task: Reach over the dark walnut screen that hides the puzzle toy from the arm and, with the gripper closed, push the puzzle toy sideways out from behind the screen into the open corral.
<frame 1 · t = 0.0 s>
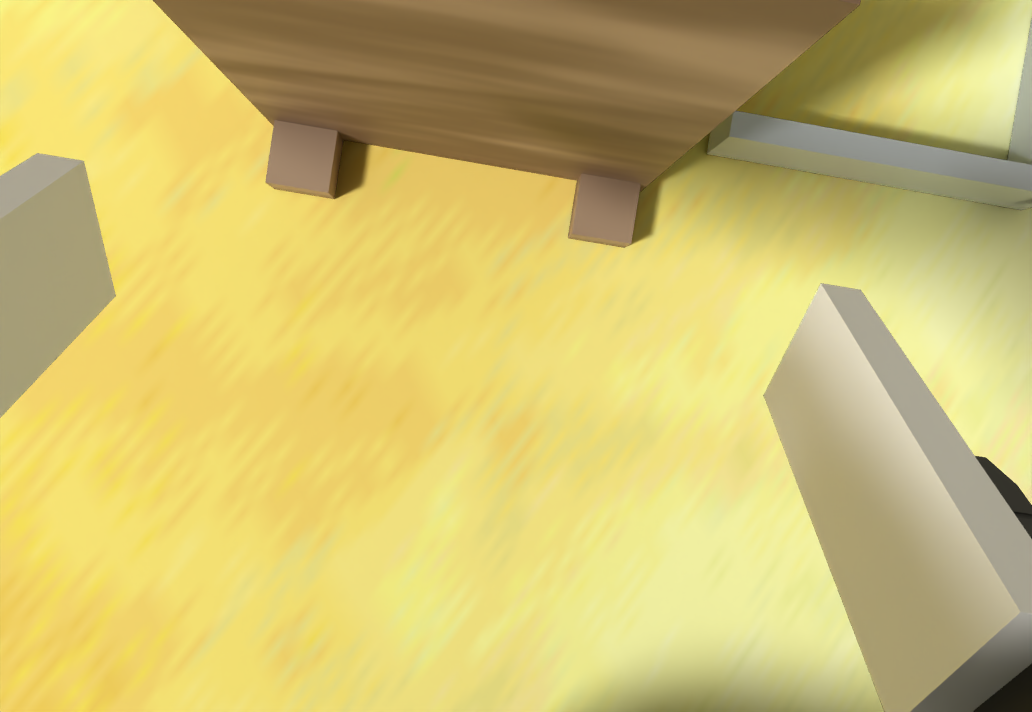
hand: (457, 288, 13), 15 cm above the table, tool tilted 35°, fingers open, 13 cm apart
screen: (463, 145, 28), on the table
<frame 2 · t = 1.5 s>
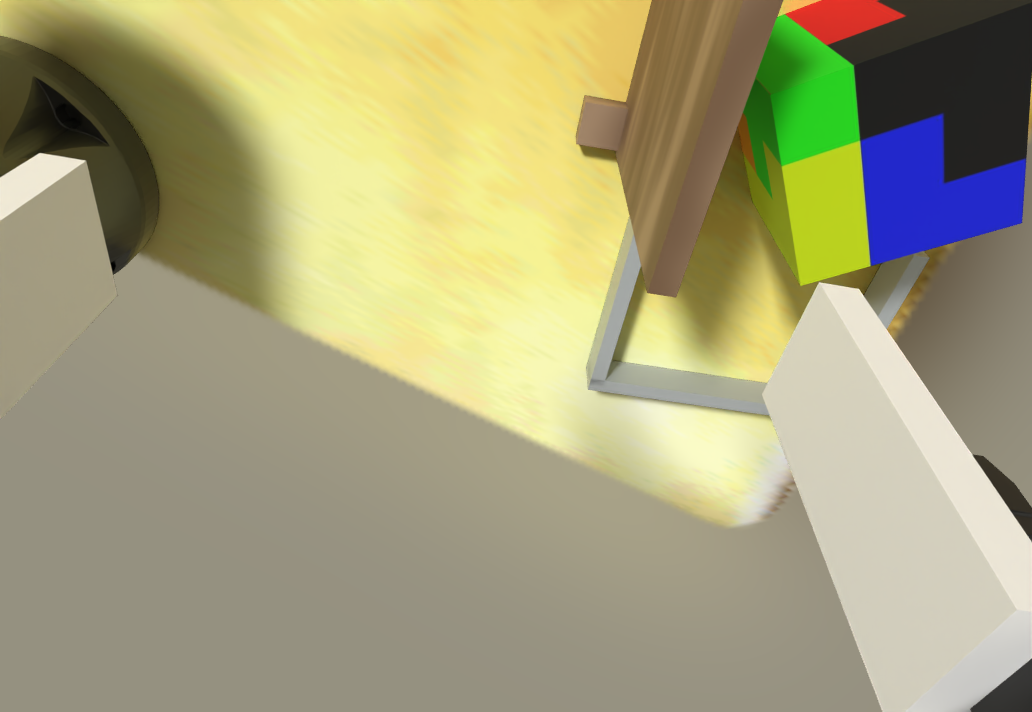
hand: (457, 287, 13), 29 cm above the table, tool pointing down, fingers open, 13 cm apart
screen: (660, 12, 36), on the table
corral: (736, 308, 47), on the table
puzzle toy: (826, 92, 38), on the table
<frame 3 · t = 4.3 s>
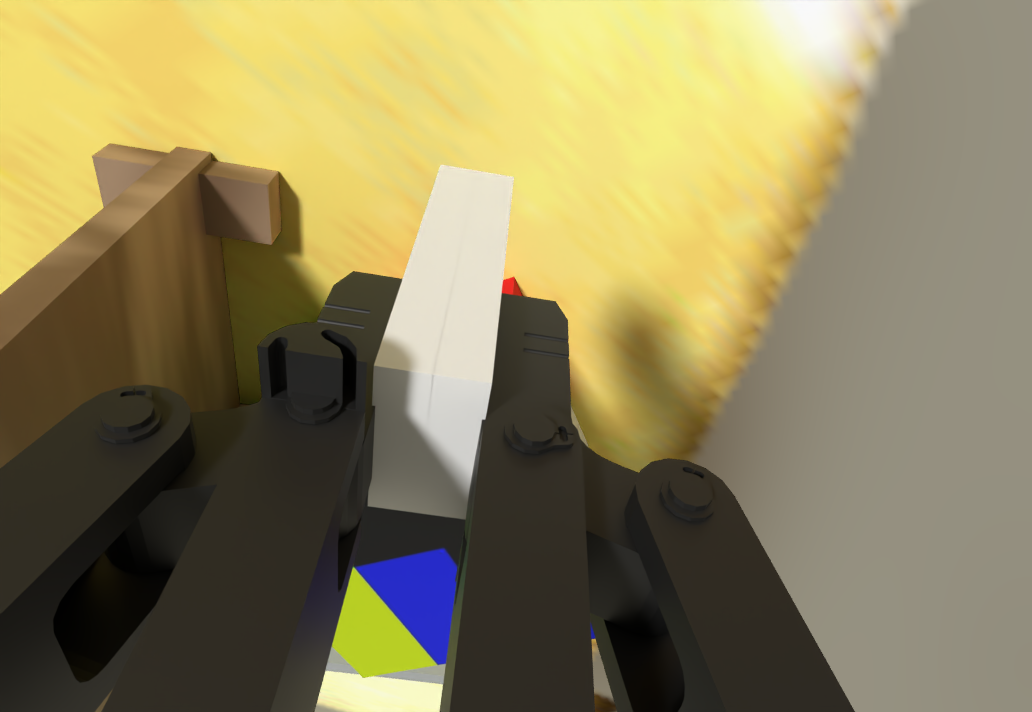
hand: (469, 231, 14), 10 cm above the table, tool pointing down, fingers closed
screen: (216, 318, 29), on the table
corral: (426, 580, 40), on the table
puzzle toy: (452, 393, 31), on the table
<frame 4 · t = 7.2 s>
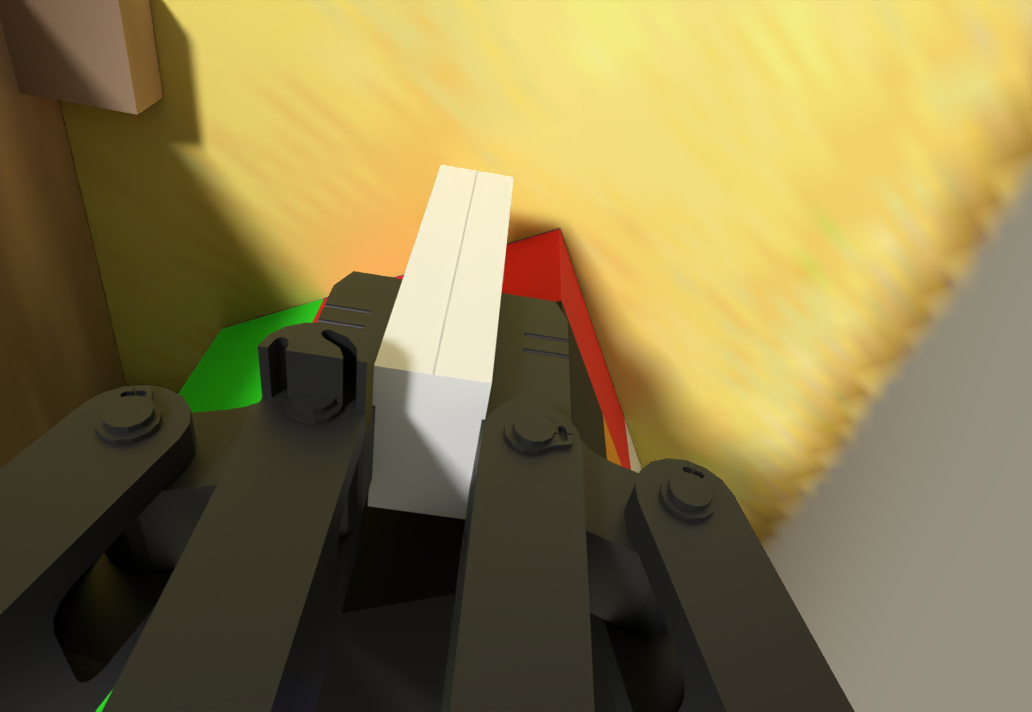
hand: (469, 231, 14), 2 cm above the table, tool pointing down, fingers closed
screen: (73, 259, 18), on the table
puzzle toy: (452, 410, 21), on the table
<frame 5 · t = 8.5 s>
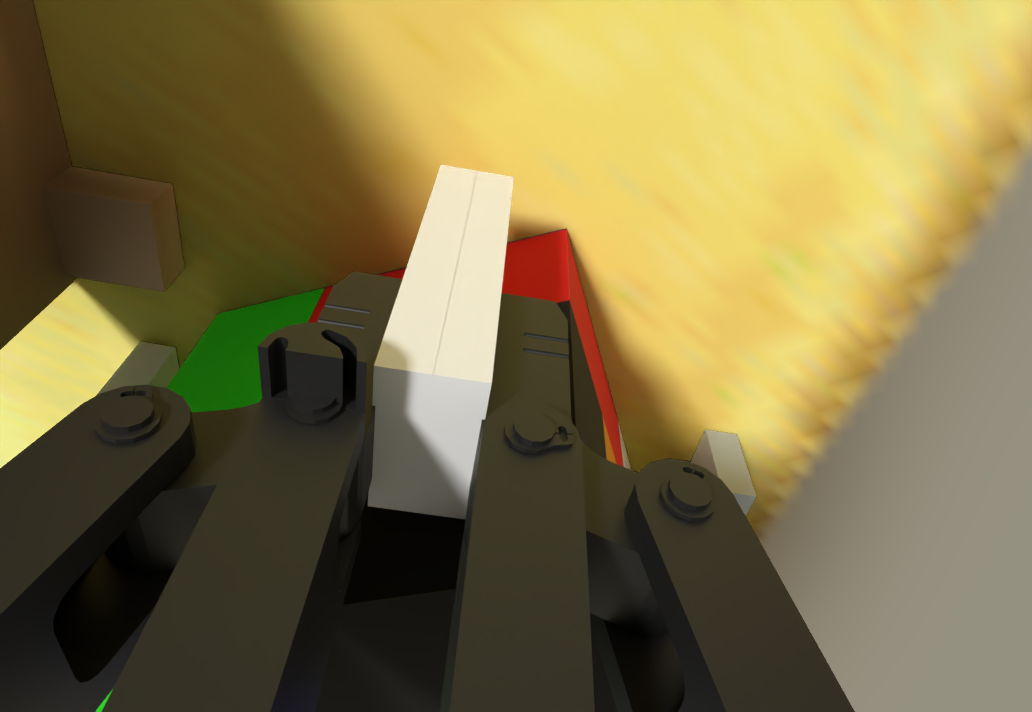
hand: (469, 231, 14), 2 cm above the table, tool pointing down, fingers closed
corral: (426, 534, 25), on the table
puzzle toy: (447, 405, 21), on the table, touching gripper
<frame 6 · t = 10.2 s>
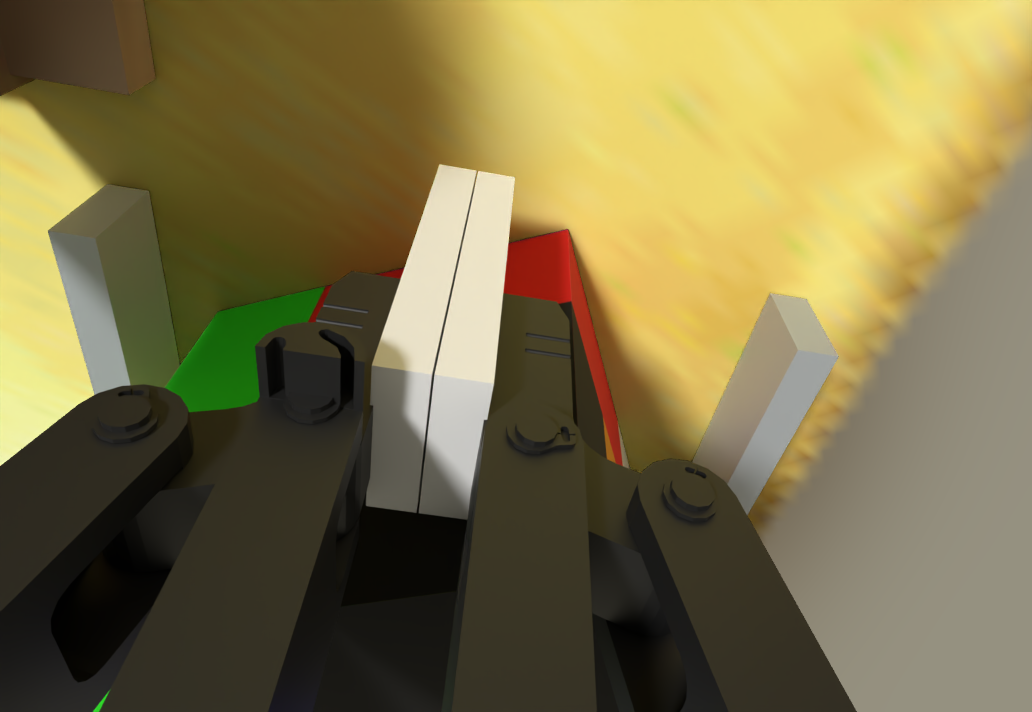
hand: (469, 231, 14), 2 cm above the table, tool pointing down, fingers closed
corral: (442, 437, 22), on the table
puzzle toy: (446, 405, 21), on the table, touching gripper, hand
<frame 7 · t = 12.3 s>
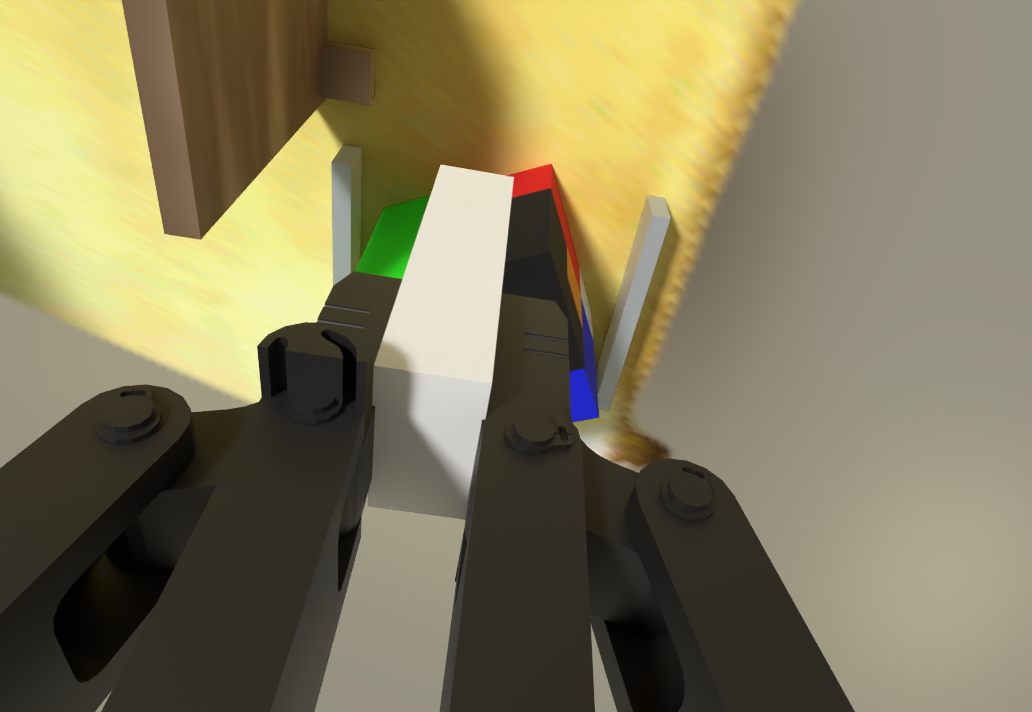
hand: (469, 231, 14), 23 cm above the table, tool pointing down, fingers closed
corral: (490, 279, 42), on the table
puzzle toy: (492, 259, 41), on the table
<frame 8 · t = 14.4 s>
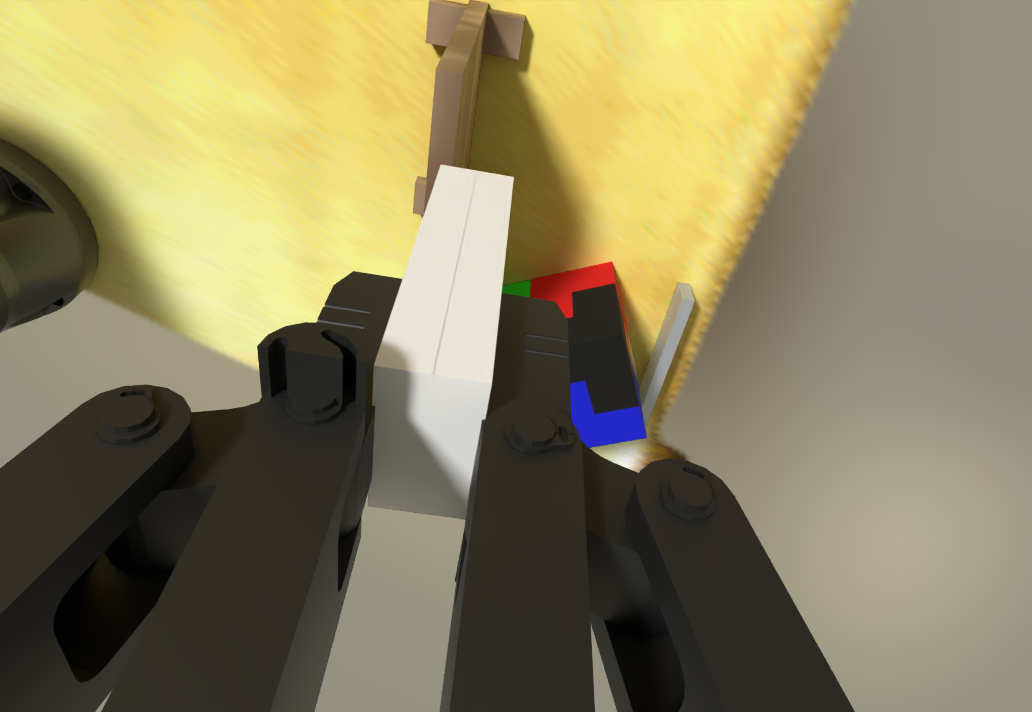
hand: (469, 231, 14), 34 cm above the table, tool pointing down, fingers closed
screen: (465, 119, 47), on the table
corral: (562, 336, 58), on the table
puzzle toy: (565, 322, 58), on the table
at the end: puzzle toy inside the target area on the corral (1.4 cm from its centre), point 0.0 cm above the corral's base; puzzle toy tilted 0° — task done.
